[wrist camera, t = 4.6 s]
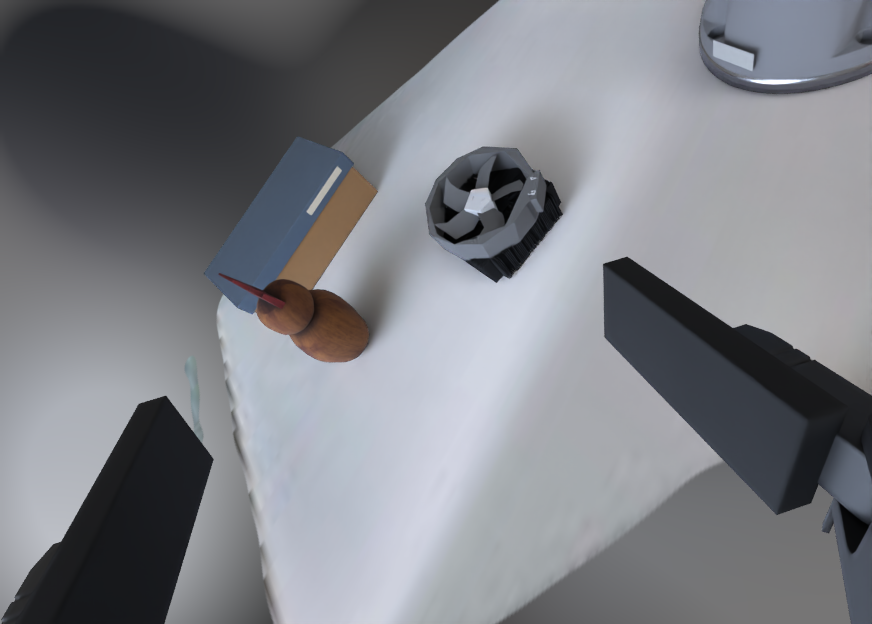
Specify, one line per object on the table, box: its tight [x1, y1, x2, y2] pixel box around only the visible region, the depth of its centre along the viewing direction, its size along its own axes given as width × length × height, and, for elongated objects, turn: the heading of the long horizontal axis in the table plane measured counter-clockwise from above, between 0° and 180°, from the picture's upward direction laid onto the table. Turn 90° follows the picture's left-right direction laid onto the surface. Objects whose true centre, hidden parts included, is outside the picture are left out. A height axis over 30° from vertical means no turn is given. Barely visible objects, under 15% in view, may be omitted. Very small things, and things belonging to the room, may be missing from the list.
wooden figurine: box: [218, 273, 369, 362], centre depth 40 cm, size 7×6×15 cm
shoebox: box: [204, 137, 378, 314], centre depth 52 cm, size 20×10×7 cm, turn 141°
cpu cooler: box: [425, 147, 563, 283], centre depth 39 cm, size 10×6×10 cm
